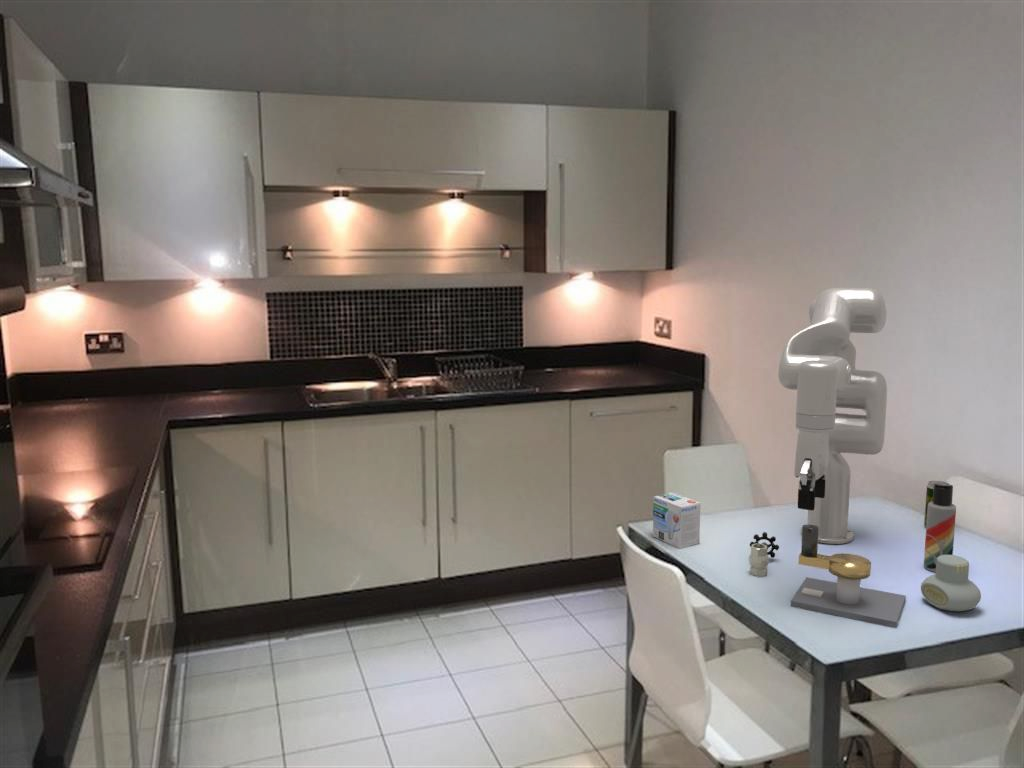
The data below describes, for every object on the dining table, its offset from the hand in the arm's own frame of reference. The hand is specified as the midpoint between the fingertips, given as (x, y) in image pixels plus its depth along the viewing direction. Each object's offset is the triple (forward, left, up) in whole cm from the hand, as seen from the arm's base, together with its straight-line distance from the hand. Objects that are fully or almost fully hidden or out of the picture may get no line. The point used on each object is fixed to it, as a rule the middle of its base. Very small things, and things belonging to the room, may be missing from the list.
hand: (811, 502), depth 175 cm
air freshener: (-10, +26, -21) cm, 35 cm away
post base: (-1, +8, -21) cm, 22 cm away
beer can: (-59, +19, -21) cm, 66 cm away
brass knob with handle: (0, +5, -14) cm, 15 cm away
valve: (-12, -13, -21) cm, 28 cm away
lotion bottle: (-30, +22, -21) cm, 43 cm away
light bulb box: (-20, -36, -21) cm, 46 cm away
